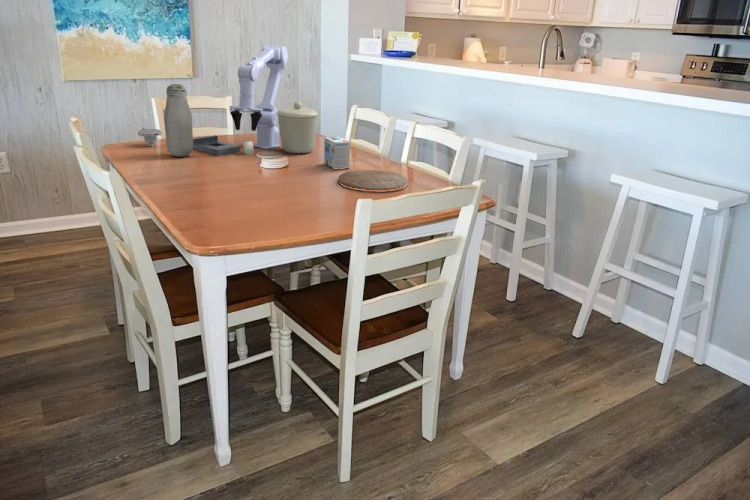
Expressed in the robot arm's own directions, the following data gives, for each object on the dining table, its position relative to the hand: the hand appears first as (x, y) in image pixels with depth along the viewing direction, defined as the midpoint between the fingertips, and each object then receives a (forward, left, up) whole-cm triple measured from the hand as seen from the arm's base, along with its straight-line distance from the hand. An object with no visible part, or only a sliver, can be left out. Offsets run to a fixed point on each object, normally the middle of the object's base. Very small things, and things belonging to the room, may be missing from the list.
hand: (245, 130), depth 237 cm
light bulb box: (-12, +39, -10) cm, 42 cm away
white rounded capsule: (-1, 0, -10) cm, 10 cm away
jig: (+5, -13, -10) cm, 17 cm away
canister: (-20, +10, -10) cm, 25 cm away
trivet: (-3, +64, -10) cm, 65 cm away
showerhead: (+20, -38, -10) cm, 44 cm away
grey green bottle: (+22, -14, -10) cm, 28 cm away
